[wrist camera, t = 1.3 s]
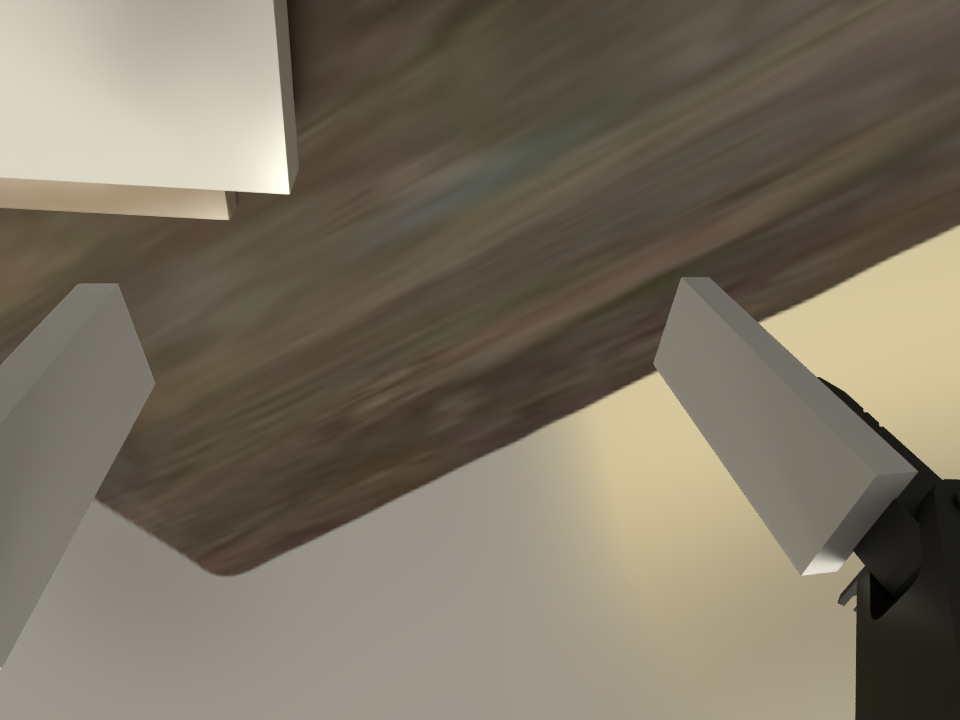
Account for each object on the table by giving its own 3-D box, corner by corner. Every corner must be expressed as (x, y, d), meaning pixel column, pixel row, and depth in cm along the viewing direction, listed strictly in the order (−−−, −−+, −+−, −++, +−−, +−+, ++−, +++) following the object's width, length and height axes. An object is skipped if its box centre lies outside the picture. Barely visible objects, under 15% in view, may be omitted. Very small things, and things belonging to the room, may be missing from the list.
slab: (-270, -232, 16) (-424, -286, 13) (277, -132, 20) (260, -156, 16) (-95, 141, 22) (-173, 167, 19) (298, 168, 26) (289, 194, 23)
